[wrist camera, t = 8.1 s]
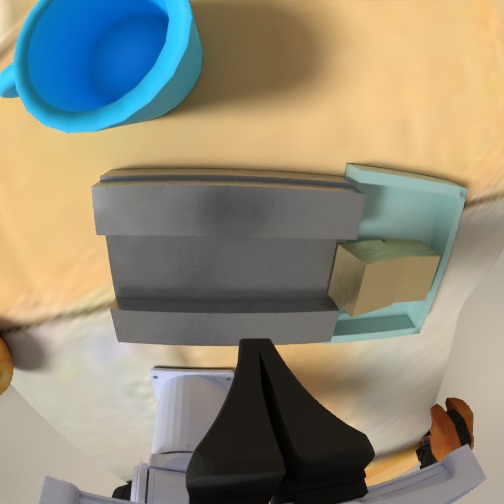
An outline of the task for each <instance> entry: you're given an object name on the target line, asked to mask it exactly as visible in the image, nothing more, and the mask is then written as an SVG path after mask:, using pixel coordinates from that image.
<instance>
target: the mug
mask: <svg viewBox="0 0 504 504" xmlns="http://www.w3.org/2000/svg"><path fill="white" fill-rule="evenodd" d="M202 59H203V50H202V46H201V41H200V37H199V33H198V30H197V26H196V23H195V19H194V16H193V12H192V9H191V5H190V2H189V0H39V1H38V3H37V4H36V5H35V7H34V8H33V9H32V11H31V12H30V13H29V15H28V17H27V19H26V21H25V23H24V25H23V28H22V30H21V32H20V35H19V37H18V39H17V44H16V49H15V56H14V62H13V63H12V64H11V65H9V66H8V67H7V68H5V69H4V70H3V71H2V73H1V74H0V96H1V97H3V98H14V97H20V98H21V100H22V102H23V104H24V106H25V108H26V109H27V111H28V112H29V113H30V114H31V115H33V116H34V117H35V118H36V119H37V120H39V121H40V122H41V123H42V124H43V125H45V126H47V127H51V128H54V129H57V130H60V131H63V132H67V133H75V132H95V131H99V130H104V129H109V128H113V127H118V126H123V125H128V124H134V123H139V122H144V121H147V120H151V119H154V118H157V117H160V116H163V115H164V114H166V113H167V112H169V111H170V110H172V109H174V108H175V107H177V106H178V105H179V104H180V103H181V102H182V101H183V100H184V99H185V98H186V97H187V95H188V94H189V93H190V92H191V91H192V90H193V88H194V85H195V83H196V81H197V79H198V77H199V75H200V73H201V67H202Z"/></svg>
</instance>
